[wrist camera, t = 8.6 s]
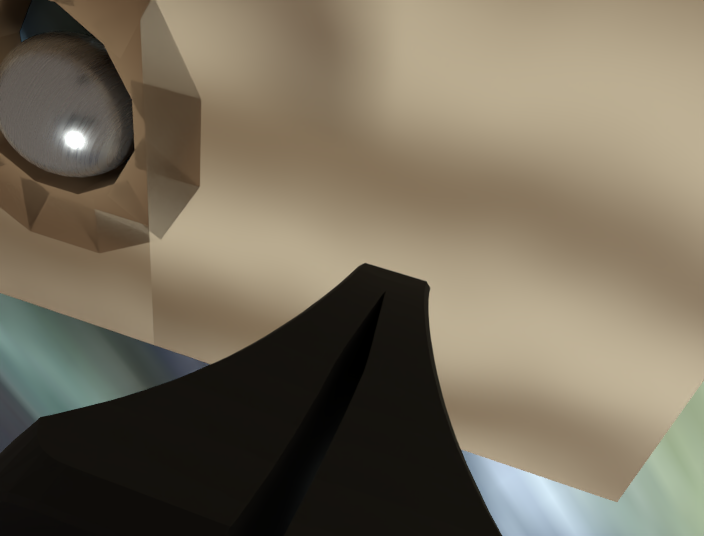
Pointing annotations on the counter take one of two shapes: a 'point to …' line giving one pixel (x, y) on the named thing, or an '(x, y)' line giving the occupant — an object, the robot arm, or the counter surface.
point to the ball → (65, 105)
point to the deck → (403, 200)
